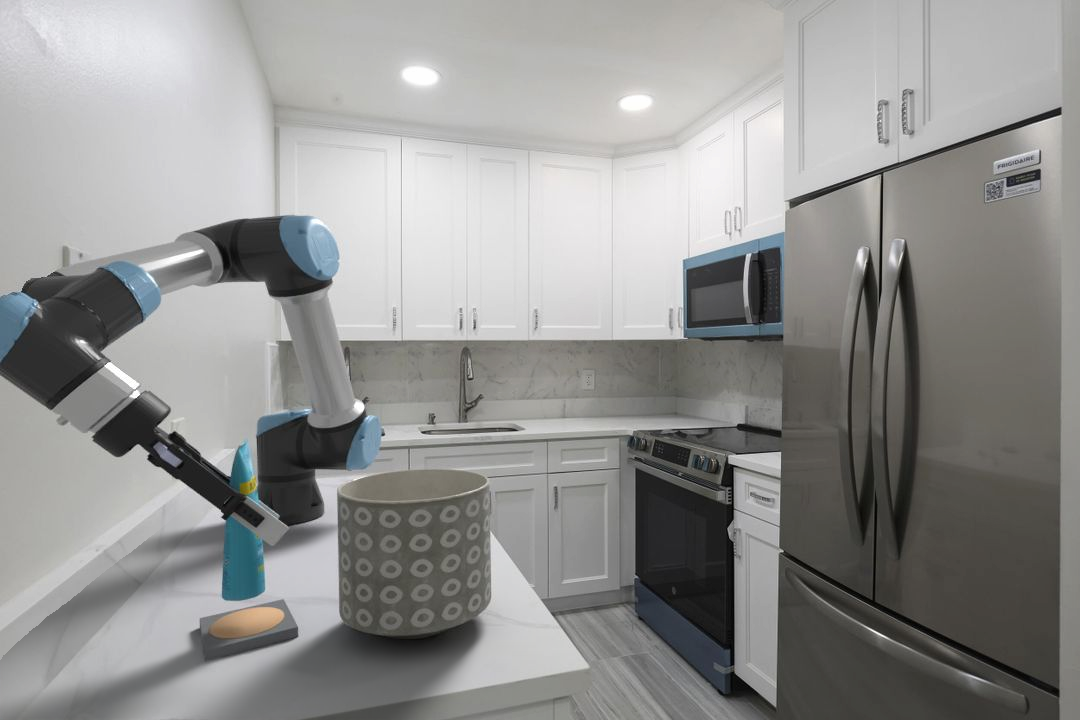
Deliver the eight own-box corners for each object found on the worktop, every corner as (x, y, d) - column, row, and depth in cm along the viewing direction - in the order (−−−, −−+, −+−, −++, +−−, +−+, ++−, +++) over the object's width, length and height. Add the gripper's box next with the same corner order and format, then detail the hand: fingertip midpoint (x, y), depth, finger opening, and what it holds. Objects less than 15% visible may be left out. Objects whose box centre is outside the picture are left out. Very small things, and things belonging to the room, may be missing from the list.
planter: (337, 606, 79) (335, 475, 79) (471, 585, 86) (469, 464, 86) (342, 677, 62) (339, 508, 61) (510, 643, 68) (508, 491, 68)
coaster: (199, 627, 74) (199, 617, 74) (283, 607, 79) (283, 598, 79) (204, 661, 65) (204, 649, 65) (298, 636, 71) (297, 625, 71)
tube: (265, 601, 70) (263, 443, 70) (219, 609, 67) (217, 446, 67) (265, 580, 76) (263, 436, 76) (223, 587, 74) (221, 439, 74)
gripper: (95, 429, 71) (244, 536, 80) (76, 447, 56) (264, 578, 65) (146, 384, 74) (284, 493, 83) (142, 390, 58) (313, 523, 68)
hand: (275, 530), depth 74 cm, fingers closed on tube, 6 cm apart
